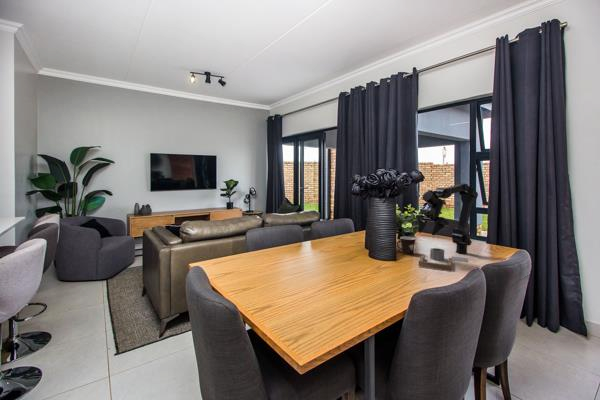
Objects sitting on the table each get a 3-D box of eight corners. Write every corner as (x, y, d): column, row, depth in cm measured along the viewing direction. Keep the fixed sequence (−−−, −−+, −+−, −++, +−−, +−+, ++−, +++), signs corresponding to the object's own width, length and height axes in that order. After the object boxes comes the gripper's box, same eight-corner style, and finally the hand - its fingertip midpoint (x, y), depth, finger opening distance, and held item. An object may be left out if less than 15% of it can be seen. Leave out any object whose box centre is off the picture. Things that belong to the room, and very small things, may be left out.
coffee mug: (412, 252, 178) (413, 236, 177) (417, 256, 169) (417, 239, 168) (393, 252, 179) (393, 236, 178) (396, 255, 170) (397, 239, 169)
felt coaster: (451, 257, 166) (451, 256, 166) (467, 259, 162) (467, 258, 162) (451, 261, 159) (451, 259, 159) (467, 263, 155) (467, 261, 155)
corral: (421, 259, 162) (422, 254, 162) (451, 263, 155) (452, 258, 154) (418, 267, 149) (418, 261, 149) (450, 271, 142) (451, 266, 142)
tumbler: (430, 257, 166) (431, 247, 166) (444, 259, 163) (444, 249, 162) (429, 260, 160) (430, 250, 160) (443, 262, 157) (444, 252, 156)
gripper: (413, 201, 166) (403, 226, 164) (440, 203, 149) (429, 230, 147) (426, 209, 170) (416, 233, 168) (453, 212, 153) (443, 238, 151)
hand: (425, 233), depth 158 cm, fingers open, 9 cm apart
